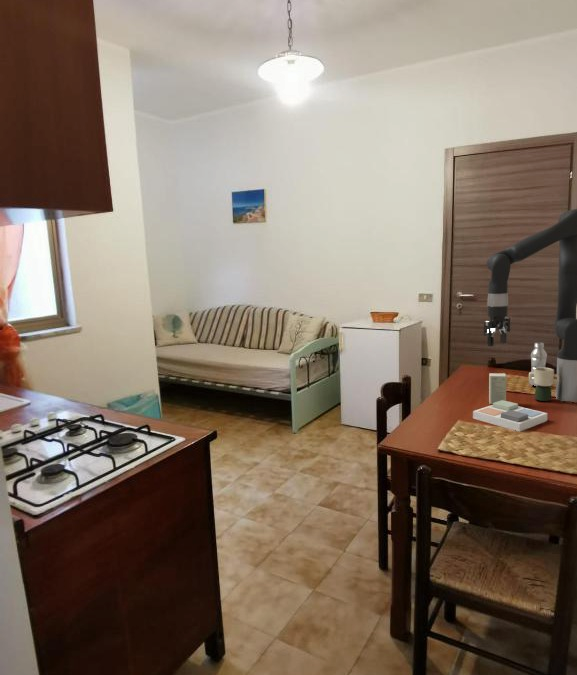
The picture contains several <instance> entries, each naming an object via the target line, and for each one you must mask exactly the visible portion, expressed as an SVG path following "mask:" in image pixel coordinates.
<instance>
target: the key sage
mask: <svg viewBox="0 0 577 675" xmlns="http://www.w3.org/2000/svg"><path fill="white" fill-rule="evenodd" d="M518 406H519V403H516V402H512V401H507V400H506V401H504V400H501V401H498V402H495V403H493V407H494V408H497V409H501V410H505V411H510V410H514V409H516V408H518Z"/></svg>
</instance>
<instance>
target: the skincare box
mask: <svg viewBox="0 0 577 675" xmlns="http://www.w3.org/2000/svg"><path fill="white" fill-rule="evenodd" d="M488 375H489V376H488V381H489V382H488V385H489V386H488V390H489V391H488V402H489V405H490V404H493V403H495V402H498V401H501V400H504V401H507V374H506V373H498V372H497V373H495V372H494V373H491V372H489V374H488Z"/></svg>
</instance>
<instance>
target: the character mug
mask: <svg viewBox="0 0 577 675" xmlns="http://www.w3.org/2000/svg"><path fill="white" fill-rule="evenodd" d="M532 375H534V378H531V376H532ZM554 378H555V379H554ZM528 380H534V383H535V384H536V385H538V386H537V387H535V389H534V390H535V391H534V397H533V398H534V399H535V400H537V401H541V402H548V401H551V400H553V398H552V397H553V396H552V389H551V386H553V385H554V383H555V384H556V383H558V382H559V375H558V374H557V373H555V369H554V368H550V367H546V366H545V367H539V368H535V369H534V373H533V372H531V371H530V372H529V373H528Z"/></svg>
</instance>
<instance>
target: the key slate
mask: <svg viewBox="0 0 577 675" xmlns="http://www.w3.org/2000/svg"><path fill="white" fill-rule="evenodd" d="M527 409H528V408H527ZM527 409H522V410H520V411H517V412H521V413H525V414H528V416H529V417H534V416H537V415H540V414H542V413H540V412H541V411H540V412H536V411H537V410H536V411H531V410H527Z"/></svg>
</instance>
